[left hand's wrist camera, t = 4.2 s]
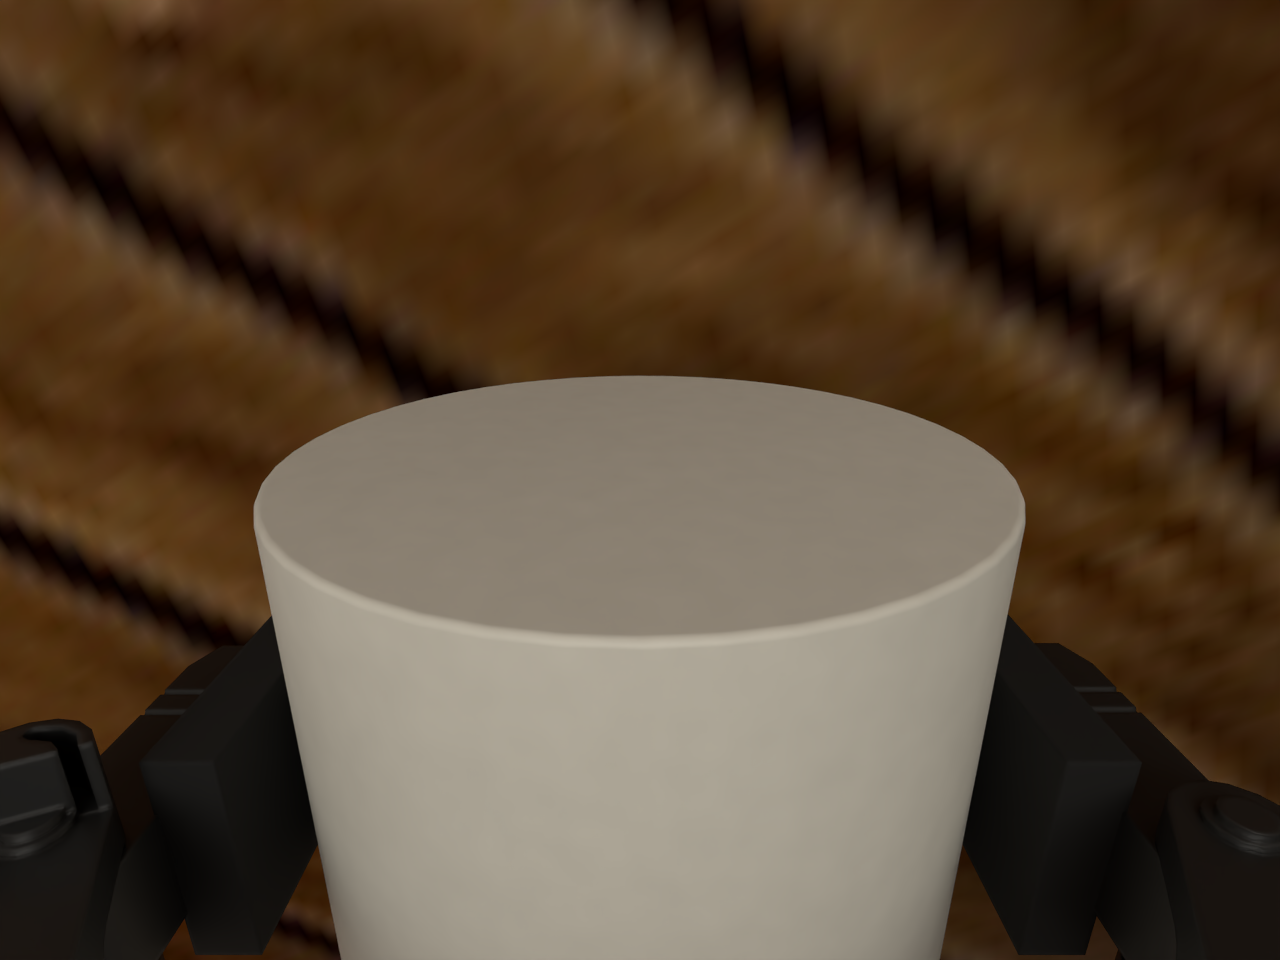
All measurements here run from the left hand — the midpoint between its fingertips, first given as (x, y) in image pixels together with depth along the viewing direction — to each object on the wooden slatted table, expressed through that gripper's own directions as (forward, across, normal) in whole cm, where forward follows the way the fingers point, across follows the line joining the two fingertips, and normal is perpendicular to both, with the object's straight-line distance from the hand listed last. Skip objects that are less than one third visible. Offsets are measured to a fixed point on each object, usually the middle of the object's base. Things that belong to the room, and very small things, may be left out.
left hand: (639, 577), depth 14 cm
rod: (0, 0, -9) cm, 9 cm away
